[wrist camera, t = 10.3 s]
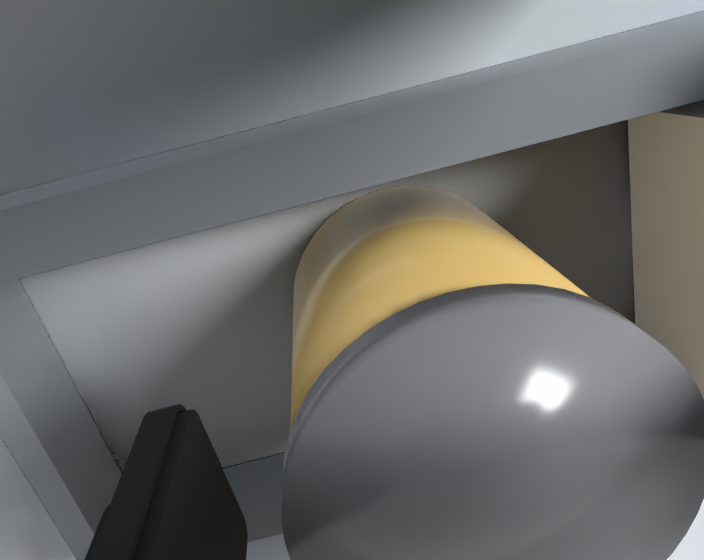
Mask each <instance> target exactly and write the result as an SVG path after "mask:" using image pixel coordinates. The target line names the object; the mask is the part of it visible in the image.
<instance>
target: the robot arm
mask: <svg viewBox="0 0 704 560" xmlns="http://www.w3.org/2000/svg"><path fill="white" fill-rule="evenodd" d="M247 542H248V533H247V525H246V521H245V518H244V515H243V513H242V511H241V509H240V506H239V504H238V502H237V500H236V497H235V495H234V493H233V491H232V489H231V486H230V484H229V482H228V480H227V477H226V475H225V473H224V471H223V469H222V466H221V464H220V462H219V460H218V457H217V455H216V453H215V451H214V449H213V446H212V444H211V442H210V440H209V437H208V435H207V433H206V431H205V428H204V426H203V424H202V422H201V420H200V417H199V415H198V414H197V412H196V411H195V410H193V409H192V410H188V411H186V409H185V408H184V407H183V406H182V405H180V404H178V405H174V406H170V407H166V408H163V409H159V410H155V411H151V412H148V413H146V415H145V416H144V418H143V421H142V424H141V426H140V429H139V431H138V434H137V436H136V439H135V442H134V444H133V447H132V449H131V452H130V454H129V457H128V460H127V462H126V465H125V467H124V470H123V472H122V475H121V478H120V480H119V483H118V485H117V488H116V490H115V493H114V496H113V498H112V501H111V503H110V505H108V506H107V507H106V509H105V511H104V513H103V515H102V517H101V519H100V522H99V524H98V527H97V529H96V532H95V534H94V537H93V540H92V542H91V545H90V547H89V550H88V552H87V555H86V557H85V560H246V554H247Z"/></svg>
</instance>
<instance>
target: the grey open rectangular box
mask: <svg viewBox="0 0 704 560" xmlns="http://www.w3.org/2000/svg"><path fill="white" fill-rule="evenodd" d="M697 101H703V102H704V11H701V12H697V13H693V14H689V15H685V16H682V17H678V18H674V19H670V20H666V21H663V22H659V23H655V24H651V25H647V26H643V27H640V28H636V29H632V30H628V31H624V32H621V33H617V34H613V35H609V36H605V37H601V38H598V39H594V40H590V41H586V42H582V43H579V44H575V45H571V46H567V47H563V48H559V49H556V50H552V51H548V52H544V53H540V54H537V55H533V56H529V57H525V58H521V59H517V60H514V61H510V62H506V63H502V64H498V65H495V66H491V67H487V68H483V69H479V70H475V71H472V72H468V73H464V74H460V75H456V76H453V77H449V78H445V79H441V80H437V81H433V82H430V83H426V84H422V85H418V86H414V87H411V88H407V89H403V90H399V91H395V92H391V93H388V94H384V95H380V96H376V97H372V98H369V99H365V100H361V101H357V102H353V103H349V104H346V105H342V106H338V107H334V108H330V109H327V110H323V111H319V112H315V113H311V114H307V115H304V116H300V117H296V118H292V119H288V120H285V121H281V122H277V123H273V124H269V125H265V126H262V127H258V128H254V129H250V130H246V131H243V132H239V133H235V134H231V135H227V136H223V137H220V138H216V139H212V140H208V141H204V142H201V143H197V144H193V145H189V146H185V147H181V148H178V149H174V150H170V151H166V152H162V153H158V154H155V155H151V156H147V157H143V158H139V159H136V160H132V161H128V162H124V163H120V164H116V165H113V166H109V167H105V168H101V169H97V170H94V171H90V172H86V173H82V174H78V175H74V176H71V177H67V178H63V179H59V180H55V181H52V182H48V183H44V184H40V185H36V186H32V187H29V188H25V189H21V190H17V191H13V192H10V193H6V194H2V195H0V436H1V438H2V440H3V441H4V443H5V444H6V446H7V448H8V449H9V451H10V452H11V454H12V456H13V457H14V459H15V461H16V462H17V464H18V465H19V467H20V469H21V470H22V472H23V473H24V475H25V477H26V478H27V480H28V481H29V483H30V485H31V486H32V488H33V490H34V491H35V493H36V494H37V496H38V498H39V499H40V501H41V502H42V504H43V506H44V507H45V509H46V510H47V512H48V514H49V515H50V517H51V519H52V520H53V522H54V523H55V525H56V527H57V528H58V530H59V531H60V533H61V535H62V536H63V538H64V539H65V541H66V543H67V544H68V546H69V548H70V549H71V551H72V552H73V554H74V556H75V557H76V559H77V560H85V557H86V555H87V552H88V550H89V547H90V545H91V542H92V540H93V537H94V534H95V532H96V529H97V527H98V524H99V522H100V519H101V517H102V515H103V513H104V511H105V509H106V507H107V506H108V505H110V503H111V501H112V498H113V496H114V493H115V490H116V488H117V485H118V483H119V480H120V478H121V475H122V473H121V471H120V469H119V468H118V466H117V464H116V462H115V460H114V458H113V456H112V454H111V452H110V451H109V449H108V447H107V445H106V443H105V441H104V439H103V437H102V435H101V433H100V432H99V430H98V428H97V426H96V424H95V422H94V420H93V418H92V416H91V415H90V413H89V411H88V409H87V407H86V405H85V403H84V401H83V399H82V397H81V396H80V394H79V392H78V390H77V388H76V386H75V384H74V382H73V380H72V379H71V377H70V375H69V373H68V371H67V369H66V367H65V365H64V363H63V361H62V360H61V358H60V356H59V354H58V352H57V350H56V348H55V346H54V344H53V343H52V341H51V339H50V337H49V335H48V333H47V331H46V329H45V327H44V325H43V324H42V322H41V320H40V318H39V316H38V314H37V312H36V310H35V308H34V307H33V305H32V303H31V301H30V299H29V297H28V295H27V293H26V291H25V290H24V288H23V286H22V284H21V282H20V280H19V279H20V278H23V277H27V276H31V275H35V274H39V273H43V272H46V271H50V270H54V269H58V268H62V267H66V266H69V265H73V264H77V263H81V262H85V261H89V260H92V259H96V258H100V257H104V256H108V255H111V254H115V253H119V252H123V251H127V250H131V249H134V248H138V247H142V246H146V245H150V244H154V243H157V242H161V241H165V240H169V239H173V238H177V237H180V236H184V235H188V234H192V233H196V232H199V231H203V230H207V229H211V228H215V227H219V226H222V225H226V224H230V223H234V222H238V221H242V220H245V219H249V218H253V217H257V216H261V215H265V214H268V213H272V212H276V211H280V210H284V209H288V208H291V207H295V206H299V205H303V204H307V203H310V202H314V201H318V200H322V199H326V198H330V197H333V196H337V195H341V194H345V193H349V192H353V191H356V190H360V189H364V188H368V187H372V186H376V185H379V184H383V183H387V182H391V181H395V180H398V179H402V178H406V177H410V176H414V175H418V174H421V173H425V172H429V171H433V170H437V169H441V168H444V167H448V166H452V165H456V164H460V163H464V162H467V161H471V160H475V159H479V158H483V157H487V156H490V155H494V154H498V153H502V152H506V151H509V150H513V149H517V148H521V147H525V146H529V145H532V144H536V143H540V142H544V141H548V140H552V139H555V138H559V137H563V136H567V135H571V134H575V133H578V132H582V131H586V130H590V129H594V128H597V127H601V126H605V125H609V124H613V123H617V122H620V121H624V120H628V119H632V118H636V117H640V116H643V115H647V114H651V113H655V112H659V111H663V110H666V109H670V108H674V107H678V106H682V105H686V104H689V103H693V102H697ZM284 454H285V453H281V454H278V455H274V456H270V457H266V458H262V459H258V460H254V461H251V462H247V463H243V464H239V465H235V466H231V467H228V468H224V469H223V471H224V473H225V475H226V477H227V480H228V482H229V484H230V486H231V489H232V491H233V493H234V495H235V497H236V500H237V502H238V504H239V506H240V509H241V511H242V513H243V515H244V518H245V521H246V525H247V533H248V542H247V554H246V560H290V557H289V554H288V551H287V548H286V545H285V542H284V534H283V527H282V520H281V517H282V489H283V463H284Z"/></svg>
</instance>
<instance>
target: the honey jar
mask: <svg viewBox="0 0 704 560" xmlns="http://www.w3.org/2000/svg"><path fill="white" fill-rule="evenodd" d="M703 498H704V399H703V397H702V395H701V393H700V390H699V388H698V386H697V384H696V383H695V381H694V380H693V378H692V377H691V375H690V374H689V373H688V371H687V370H686V368H685V367H684V366H683V364H682V363H681V362H680V361H679V360H678V359H677V358H676V357H675V356H674V355H672V354H671V353H670V352H669V351H668V350H667V349H666V348H665V347H664V346H663V345H661V344H660V343H659V342H658V341H656V340H655V339H654V338H652V337H651V336H650V335H648V334H647V333H646V332H645V331H643V330H642V329H641V328H639V327H638V326H637V325H636V324H634V323H633V322H632V321H630V320H629V319H627V318H626V317H624V316H623V315H622V314H620V313H619V312H617V311H616V310H614V309H613V308H611V307H609V306H607V305H605V304H603V303H601V302H599V301H597V300H595V299H593V298H591V297H589V296H588V295H587V294H586V293H584V292H583V291H582V290H581V289H579V288H578V287H577V286H576V285H574V284H573V283H572V282H571V281H569V280H568V279H567V278H566V277H564V276H563V275H562V274H560V273H559V272H558V271H557V270H555V269H554V268H553V267H552V266H550V265H549V264H548V263H547V262H545V261H544V260H543V259H542V258H540V257H539V256H538V255H537V254H535V253H534V252H533V251H532V250H530V249H529V248H528V247H527V246H525V245H524V244H523V243H522V242H520V241H519V240H518V239H517V238H515V237H514V236H513V235H512V234H510V233H509V232H508V231H507V230H505V229H504V228H503V227H502V226H500V225H499V224H498V223H497V222H495V221H494V220H493V219H492V218H490V217H489V216H488V215H487V214H485V213H484V212H483V211H482V210H480V209H479V208H478V207H476V206H475V205H473V204H472V203H470V202H469V201H468V200H466V199H464V198H462V197H460V196H458V195H456V194H454V193H451V192H448V191H445V190H442V189H437V188H432V187H427V186H413V185H409V186H396V187H390V188H385V189H381V190H377V191H374V192H372V193H369V194H366V195H363V196H361V197H359V198H357V199H355V200H353V201H351V202H350V203H348V204H347V205H345V206H344V207H342V208H341V209H339V210H338V211H336V212H335V213H334V214H333V215H332V216H331V217H330V218H328V219H327V220H326V221H325V222H324V223H323V225H322V226H321V227H320V228H319V229H318V230H317V231H316V233H315V234H314V236H313V237H312V239H311V240H310V242H309V243H308V245H307V247H306V249H305V251H304V253H303V255H302V257H301V259H300V262H299V265H298V268H297V271H296V277H295V282H294V299H293V341H292V384H291V427H290V432H289V435H288V439H287V444H286V449H285V454H284V463H283V489H282V517H281V520H282V527H283V534H284V542H285V545H286V548H287V551H288V554H289V557H290V560H667V558H668V557H669V556H670V555H671V554H672V553H673V551H674V550H675V549H676V547H677V546H678V544H679V543H680V542H681V540H682V539H683V538H684V536H685V535H686V533H687V531H688V530H689V528H690V526H691V524H692V522H693V521H694V519H695V517H696V515H697V513H698V511H699V508H700V506H701V503H702V501H703Z"/></svg>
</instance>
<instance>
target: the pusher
mask: <svg viewBox="0 0 704 560" xmlns="http://www.w3.org/2000/svg"><path fill="white" fill-rule="evenodd" d="M628 138H629V165H630V192H631V219H632V246H633V273H634V300H635V324H636V325H637V326H638V327H639V328H641V329H642V330H643V331H645V332H646V333H647V334H648V335H650V336H651V337H652V338H654V339H655V340H656V341H658V342H659V343H660V344H661V345H663V346H664V347H665V348H666V349H667V350H668V351H669V352H670V353H671V354H672V355H674V356H675V357H676V358H677V359H678V360H679V361H680V362H681V363H682V364H683V366H684V367H685V368H686V370H687V371H688V373H689V374H690V375H691V377H692V378H693V380H694V381H695V383H696V384H697V386H698V388H699V390H700V393H701V395H702V397H703V399H704V102H703V101H697V102H693V103H689V104H686V105H682V106H678V107H674V108H670V109H666V110H663V111H659V112H655V113H651V114H647V115H643V116H640V117H636V118H632V119H628Z"/></svg>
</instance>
